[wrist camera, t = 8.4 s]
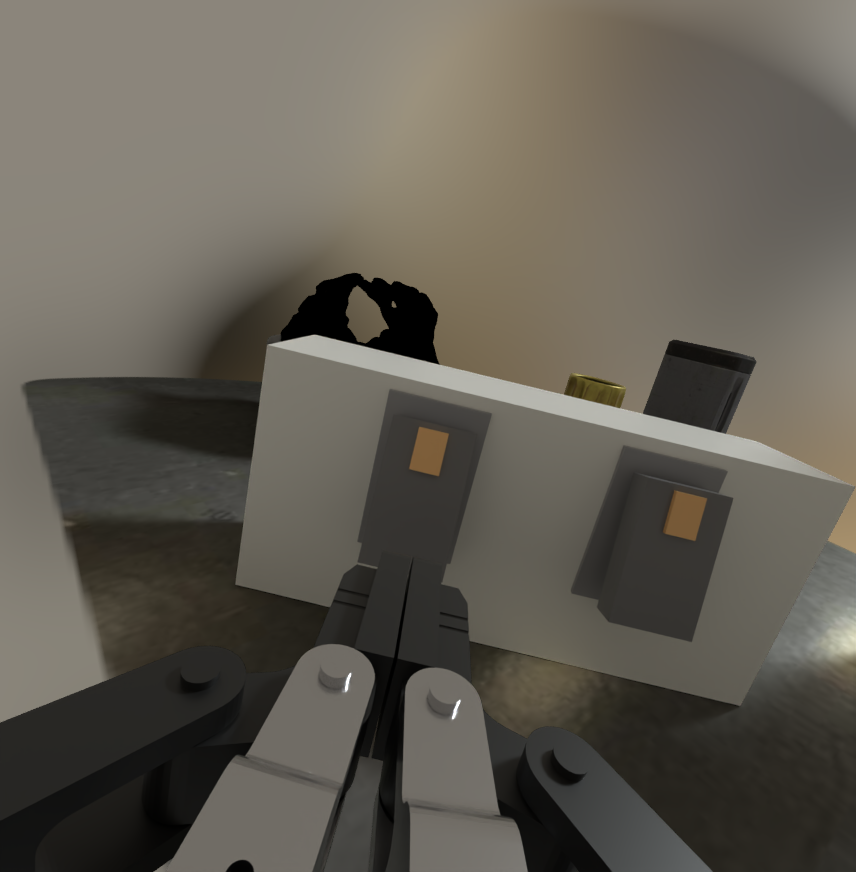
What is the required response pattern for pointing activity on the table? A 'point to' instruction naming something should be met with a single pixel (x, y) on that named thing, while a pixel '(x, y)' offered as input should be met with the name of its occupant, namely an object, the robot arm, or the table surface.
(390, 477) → the outer rocker
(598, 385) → the vase
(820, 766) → the table surface
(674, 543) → the block
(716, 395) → the electronic device
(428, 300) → the coal bowl
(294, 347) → the power box
